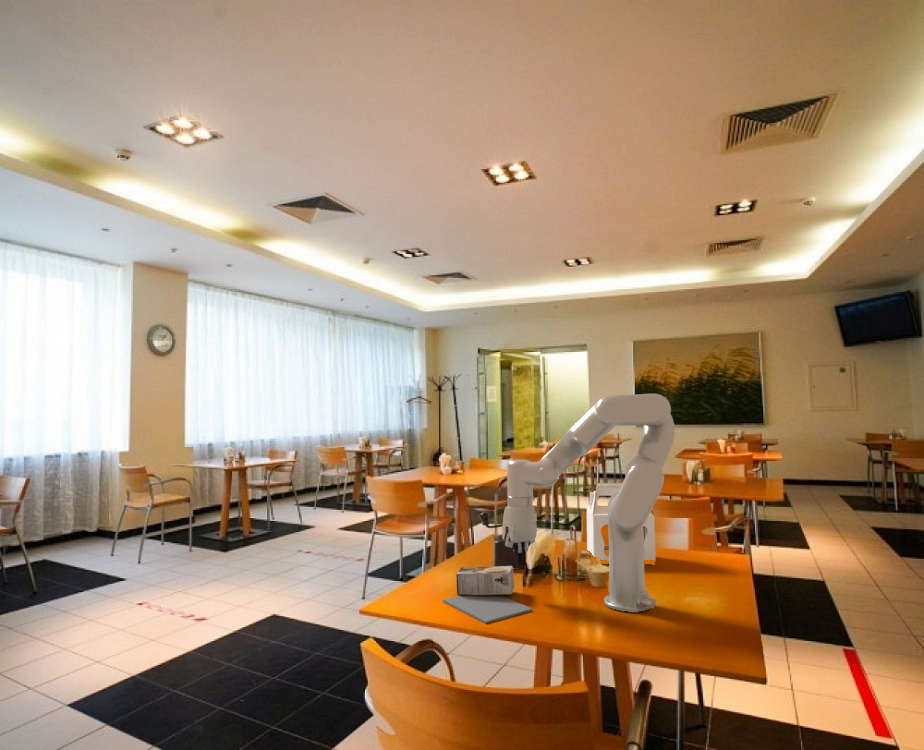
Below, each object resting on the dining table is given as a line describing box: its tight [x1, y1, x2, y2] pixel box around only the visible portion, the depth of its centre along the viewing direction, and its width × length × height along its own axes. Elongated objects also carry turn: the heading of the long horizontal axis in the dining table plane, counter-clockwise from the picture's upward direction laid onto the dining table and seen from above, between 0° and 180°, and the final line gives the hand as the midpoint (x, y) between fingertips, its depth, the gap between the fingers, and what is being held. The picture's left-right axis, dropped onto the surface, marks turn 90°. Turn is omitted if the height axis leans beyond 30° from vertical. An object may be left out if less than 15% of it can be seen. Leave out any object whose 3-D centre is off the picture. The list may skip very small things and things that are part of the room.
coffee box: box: [455, 566, 515, 596], centre depth 163 cm, size 9×6×16 cm
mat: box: [442, 595, 533, 624], centre depth 152 cm, size 20×16×1 cm
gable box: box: [586, 482, 656, 561], centre depth 202 cm, size 22×13×28 cm, turn 87°
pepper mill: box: [478, 511, 526, 570], centre depth 195 cm, size 16×11×18 cm
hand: (520, 565), depth 160 cm, fingers closed
